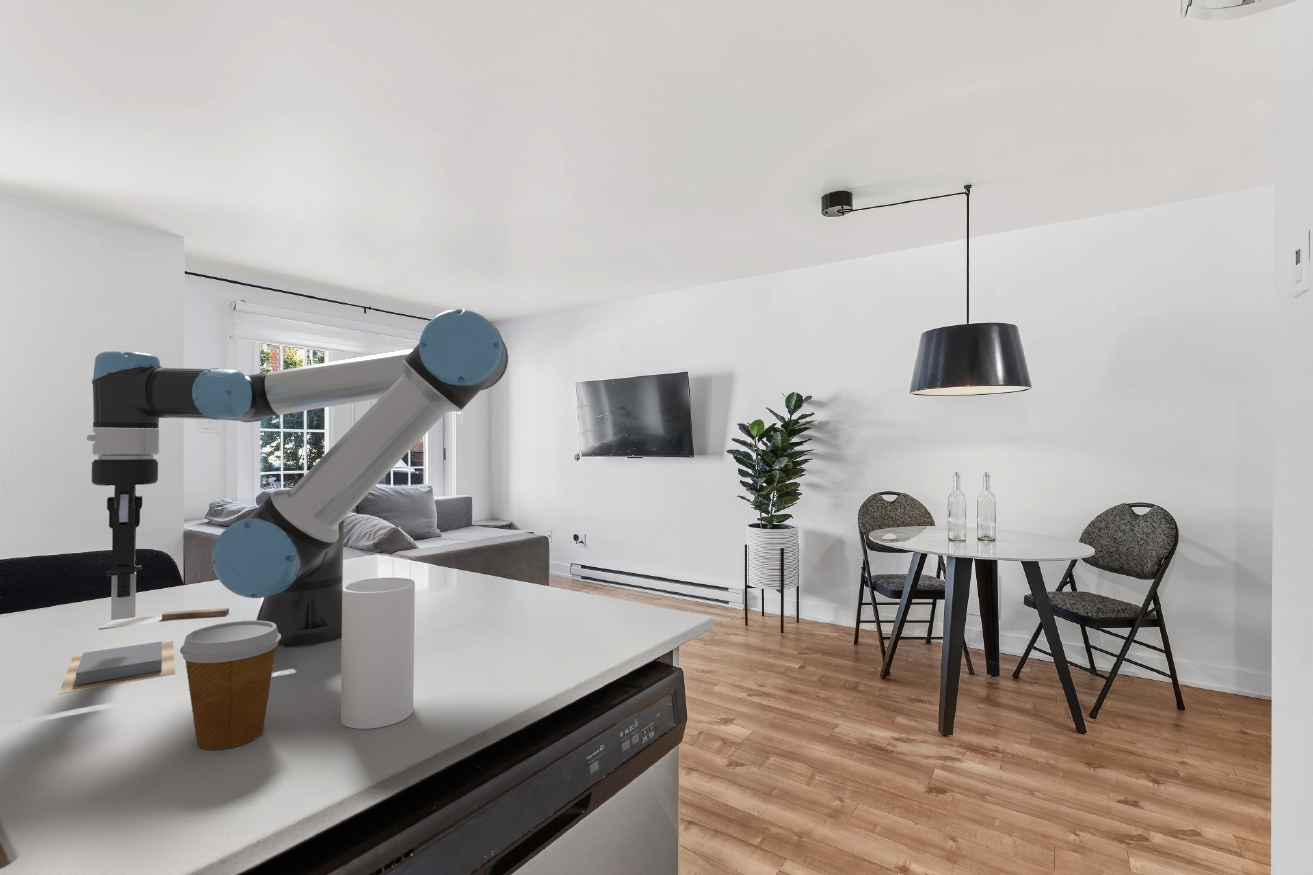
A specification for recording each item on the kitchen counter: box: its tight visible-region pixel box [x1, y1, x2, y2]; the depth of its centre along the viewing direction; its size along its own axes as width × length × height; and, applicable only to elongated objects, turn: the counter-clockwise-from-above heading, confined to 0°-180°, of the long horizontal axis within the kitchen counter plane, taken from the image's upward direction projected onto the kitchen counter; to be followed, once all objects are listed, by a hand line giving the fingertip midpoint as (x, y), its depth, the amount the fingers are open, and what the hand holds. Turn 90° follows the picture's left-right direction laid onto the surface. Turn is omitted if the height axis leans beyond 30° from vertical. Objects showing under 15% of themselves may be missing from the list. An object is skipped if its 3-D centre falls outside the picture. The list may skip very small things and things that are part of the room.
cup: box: [340, 577, 416, 730], centre depth 78 cm, size 8×8×16 cm
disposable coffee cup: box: [179, 620, 281, 751], centre depth 72 cm, size 10×10×12 cm
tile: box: [76, 641, 163, 685], centre depth 91 cm, size 2×9×10 cm
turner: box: [98, 607, 230, 631], centre depth 117 cm, size 18×6×2 cm, turn 108°
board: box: [58, 640, 176, 695], centre depth 93 cm, size 18×12×1 cm, turn 38°
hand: (123, 617), depth 94 cm, fingers closed
